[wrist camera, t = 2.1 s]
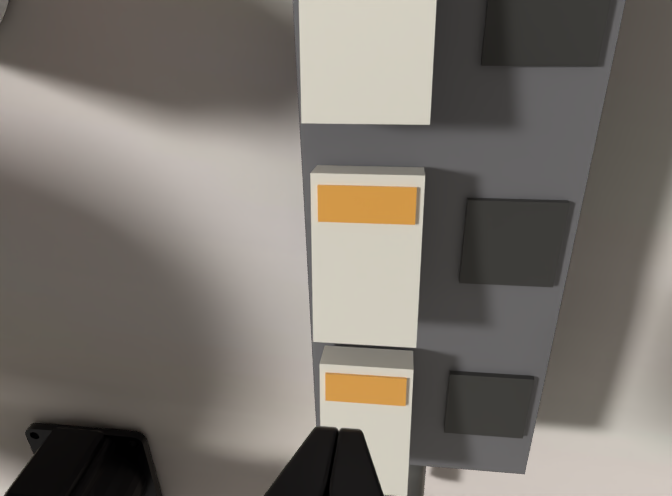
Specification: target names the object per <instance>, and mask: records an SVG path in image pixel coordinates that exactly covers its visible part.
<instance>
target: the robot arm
mask: <svg viewBox="0 0 672 496" xmlns="http://www.w3.org/2000/svg"><path fill="white" fill-rule="evenodd" d="M25 433H26V437H27V439H28V442H29V444H30V446H31V449H32V451H33V454H34V455H33V457H32V458H31V459H30V461H29V462H28V463H27V465H26V466H25V467H24V469H23V470H22V471H21V473H20V474H19V475H18V477H17V478H16V479H15V481H14V482H13V483H12V485H11V486H10V487H9V489H8V490H7V491H6V493H5V495H4V496H162V495H161V491H160V487H159V484H158V480H157V476H156V472H155V469H154V465H153V461H152V458H151V454H150V450H149V446H148V443H147V439H146V437H145V435H143V434H142V433H140V432H138V431H129V430H117V429H104V428H92V427H79V426H67V425H55V424H42V423H33V424H31V425H30V426H29V428H28V429H27V430H26V432H25ZM264 496H384V494H383V491H382V488H381V485H380V482H379V479H378V476H377V473H376V470H375V467H374V464H373V461H372V458H371V455H370V452H369V449H368V446H367V443H366V440H365V437H364V434H363V432H362V430H360V429H354V428H341V429H340V430H338V429H337V428H336V427H328V426H317V427H315V428H314V429H313V430H312V431H311V433H310V434H309V436H308V437H307V438H306V440H305V441H304V442H303V444H302V445H301V446H300V448H299V449H298V450H297V452H296V453H295V454H294V456H293V457H292V458H291V460H290V461H289V462H288V464H287V465H286V466H285V468H284V469H283V470H282V472H281V473H280V475H279V476H278V477H277V479H276V480H275V481H274V483H273V484H272V485H271V487H270V488H269V489H268V491H267V492H266V493H265V495H264Z"/></svg>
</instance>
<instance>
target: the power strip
mask: <svg viewBox="0 0 672 496" xmlns="http://www.w3.org/2000/svg"><path fill="white" fill-rule="evenodd" d="M625 1H626V0H437V2H436V21H435V40H434V59H433V77H432V96H431V115H430V125H403V124H315V123H301V81H300V34H299V0H293V13H294V32H295V50H296V68H297V86H298V104H299V122H300V140H301V158H302V176H303V194H304V212H305V230H306V248H307V266H308V285H309V303H310V321H311V339H312V357H313V375H314V393H315V411H316V427H317V426H320V368H319V364H320V360H321V357H322V353H323V350H324V346H341V347H358V348H374V349H391V350H408V351H413V367H414V371H413V390H412V410H411V430H410V449H409V469H408V489H407V496H424V485H425V473H426V466H432V467H444V468H456V469H468V470H480V471H492V472H504V473H516V474H525V470H526V465H527V461H528V456H529V451H530V446H531V442H532V437H533V432H534V428H535V423H536V418H537V414H538V409H539V404H540V400H541V395H542V390H543V386H544V381H545V376H546V371H547V367H548V362H549V357H550V353H551V348H552V343H553V339H554V334H555V329H556V325H557V320H558V315H559V310H560V306H561V301H562V296H563V292H564V287H565V282H566V278H567V273H568V268H569V264H570V259H571V254H572V250H573V245H574V240H575V235H576V231H577V226H578V221H579V217H580V212H581V207H582V203H583V198H584V193H585V189H586V184H587V179H588V175H589V170H590V165H591V160H592V156H593V151H594V146H595V142H596V137H597V132H598V128H599V123H600V118H601V114H602V109H603V104H604V99H605V95H606V90H607V85H608V81H609V76H610V71H611V67H612V62H613V57H614V53H615V48H616V43H617V39H618V34H619V29H620V24H621V20H622V15H623V10H624V6H625ZM317 165H335V166H384V167H424V172H425V189H424V208H423V228H422V247H421V266H420V285H419V304H418V324H417V343H416V348H410V347H393V346H376V345H359V344H342V343H325V342H313V304H312V244H311V184H310V173H311V172H312V171H313V169H314V168H315V167H316V166H317Z"/></svg>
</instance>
